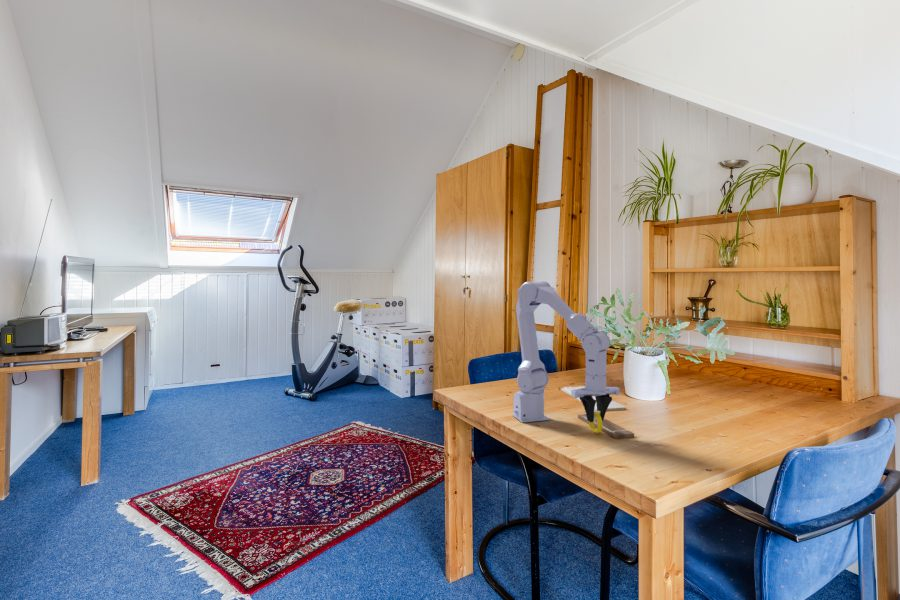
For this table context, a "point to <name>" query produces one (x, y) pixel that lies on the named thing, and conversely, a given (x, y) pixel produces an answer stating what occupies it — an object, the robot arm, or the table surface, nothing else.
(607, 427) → the board
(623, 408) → the baseboard molding
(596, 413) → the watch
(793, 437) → the table surface
